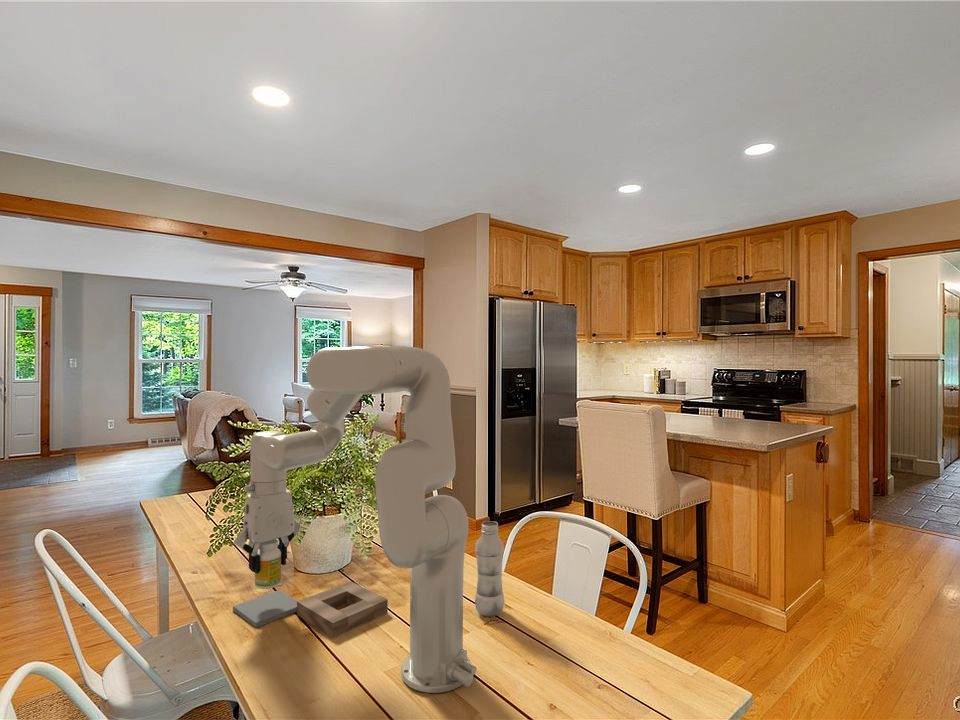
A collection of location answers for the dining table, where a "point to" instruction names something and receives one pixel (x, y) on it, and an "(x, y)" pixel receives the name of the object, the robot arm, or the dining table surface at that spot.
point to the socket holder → (336, 622)
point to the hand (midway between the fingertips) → (268, 566)
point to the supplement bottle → (269, 565)
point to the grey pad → (266, 608)
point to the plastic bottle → (489, 571)
